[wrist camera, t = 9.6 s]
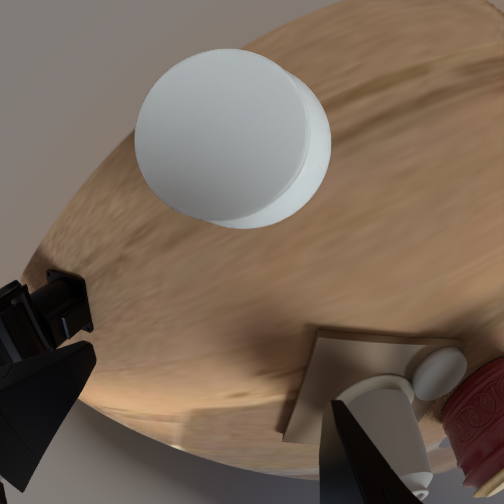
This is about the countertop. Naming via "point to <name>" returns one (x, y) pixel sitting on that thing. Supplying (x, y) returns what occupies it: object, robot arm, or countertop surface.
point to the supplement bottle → (232, 139)
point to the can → (395, 435)
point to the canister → (479, 428)
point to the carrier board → (371, 374)
